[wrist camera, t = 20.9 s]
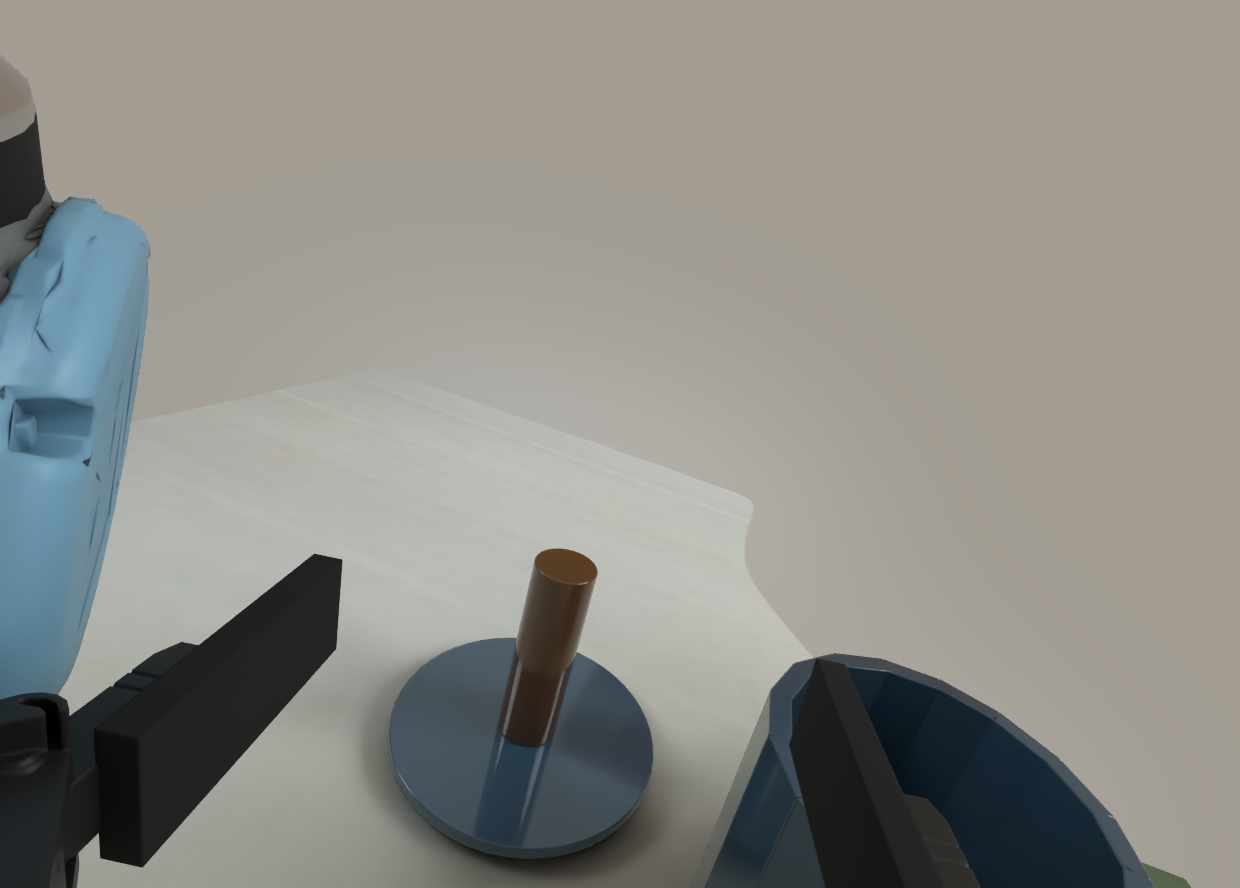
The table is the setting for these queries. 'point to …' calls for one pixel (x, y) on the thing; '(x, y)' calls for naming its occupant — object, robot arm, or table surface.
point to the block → (1165, 878)
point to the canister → (923, 791)
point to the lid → (524, 731)
